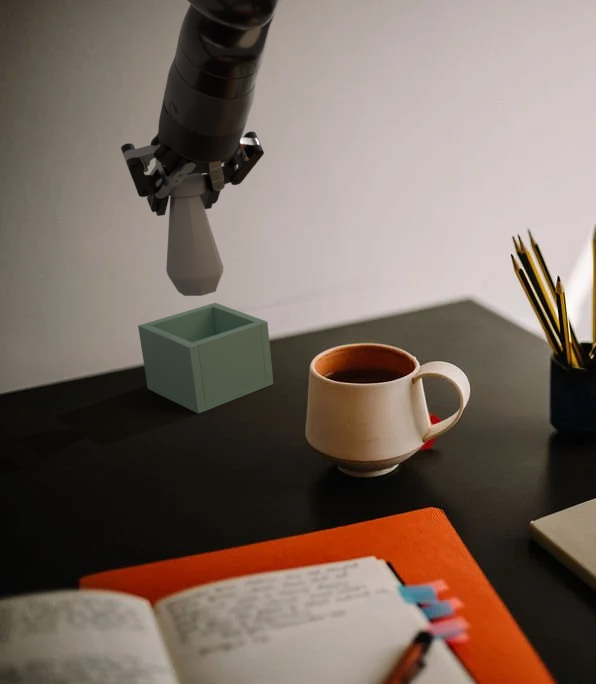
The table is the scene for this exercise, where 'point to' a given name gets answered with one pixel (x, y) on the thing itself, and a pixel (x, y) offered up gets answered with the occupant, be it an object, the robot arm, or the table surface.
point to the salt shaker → (191, 241)
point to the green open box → (206, 356)
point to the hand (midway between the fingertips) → (181, 205)
